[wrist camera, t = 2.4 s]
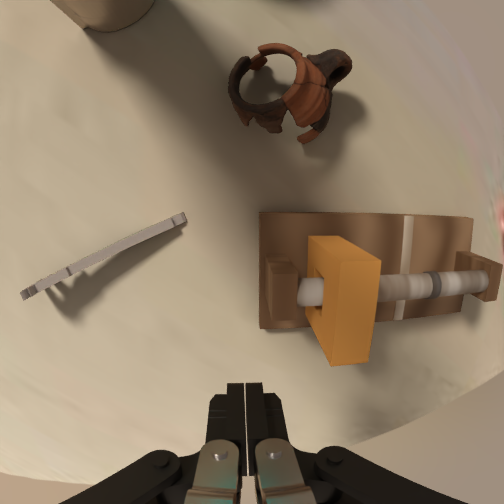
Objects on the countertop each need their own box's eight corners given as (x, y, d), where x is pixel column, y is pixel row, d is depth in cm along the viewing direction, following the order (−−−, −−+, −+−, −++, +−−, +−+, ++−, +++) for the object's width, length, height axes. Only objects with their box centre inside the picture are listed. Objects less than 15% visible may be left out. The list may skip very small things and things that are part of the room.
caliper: (44, 287, 33) (16, 305, 27) (40, 279, 33) (12, 296, 27) (187, 220, 32) (176, 230, 26) (183, 210, 32) (171, 218, 26)
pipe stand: (259, 323, 35) (265, 363, 26) (259, 212, 32) (266, 222, 24) (454, 307, 36) (491, 333, 28) (466, 217, 33) (510, 227, 25)
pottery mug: (286, 169, 32) (251, 143, 24) (241, 109, 34) (202, 76, 27) (378, 101, 28) (369, 56, 20) (323, 48, 30) (300, 2, 22)
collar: (305, 314, 32) (330, 366, 22) (308, 235, 30) (340, 261, 20) (333, 312, 32) (367, 362, 22) (338, 235, 30) (381, 260, 21)
